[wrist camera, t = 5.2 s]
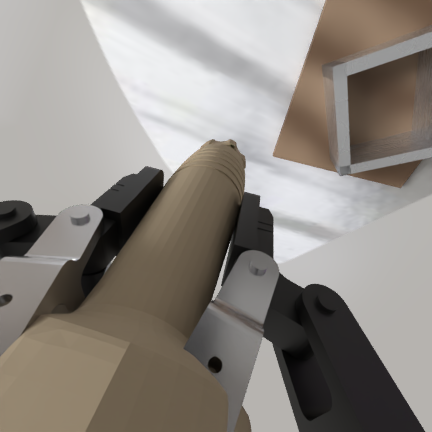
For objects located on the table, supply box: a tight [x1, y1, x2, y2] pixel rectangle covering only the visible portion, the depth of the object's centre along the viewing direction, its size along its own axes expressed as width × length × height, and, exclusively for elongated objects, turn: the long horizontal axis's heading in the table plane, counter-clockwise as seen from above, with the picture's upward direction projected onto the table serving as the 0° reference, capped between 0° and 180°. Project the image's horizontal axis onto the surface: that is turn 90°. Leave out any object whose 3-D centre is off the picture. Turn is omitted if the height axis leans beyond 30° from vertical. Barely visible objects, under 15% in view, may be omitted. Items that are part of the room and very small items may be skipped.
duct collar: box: [322, 25, 432, 176], centre depth 21 cm, size 10×9×5 cm
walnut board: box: [273, 0, 432, 188], centre depth 23 cm, size 20×16×1 cm
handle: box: [0, 139, 251, 432], centre depth 10 cm, size 5×6×15 cm
